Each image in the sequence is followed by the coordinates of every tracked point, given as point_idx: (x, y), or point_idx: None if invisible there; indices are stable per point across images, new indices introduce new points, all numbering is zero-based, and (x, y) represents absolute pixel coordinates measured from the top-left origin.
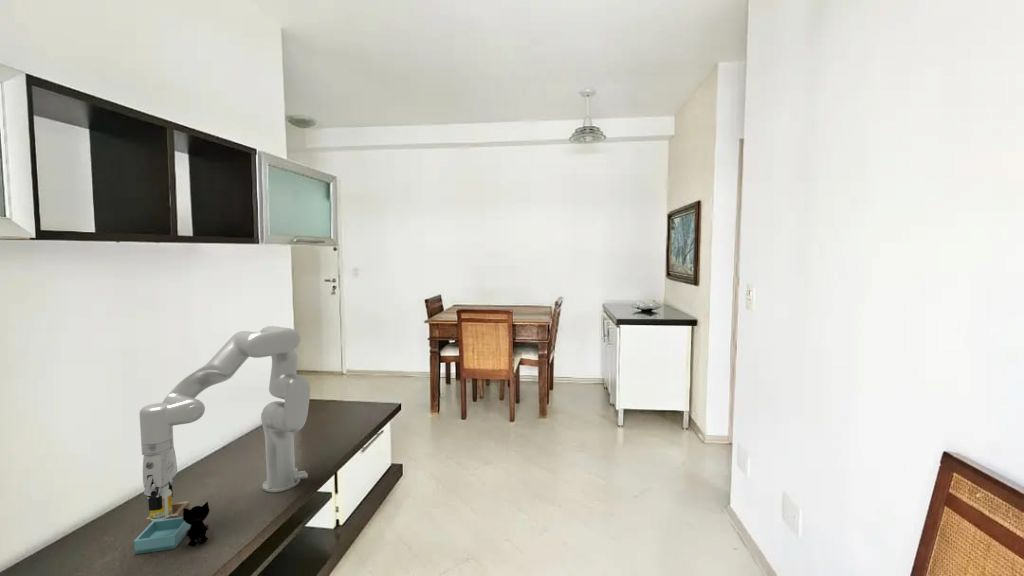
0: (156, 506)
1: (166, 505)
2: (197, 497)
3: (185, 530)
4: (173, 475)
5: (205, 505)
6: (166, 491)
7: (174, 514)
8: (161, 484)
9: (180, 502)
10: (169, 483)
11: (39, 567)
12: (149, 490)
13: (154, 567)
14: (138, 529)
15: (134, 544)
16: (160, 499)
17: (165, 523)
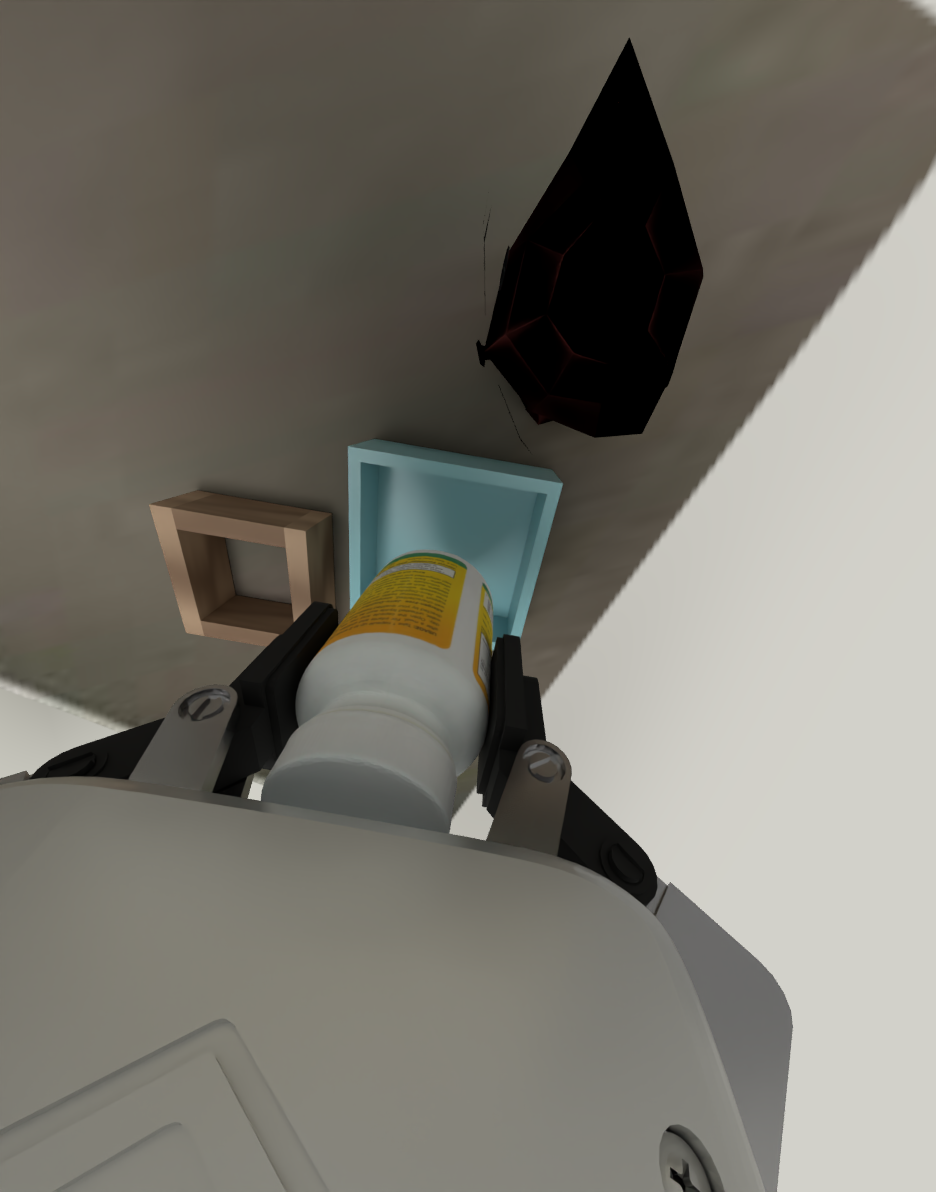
0: (537, 686)
1: (468, 613)
2: (61, 486)
3: (432, 452)
4: (154, 838)
5: (635, 124)
6: (398, 701)
7: (293, 545)
8: (686, 989)
9: (165, 547)
10: (232, 725)
11: (463, 803)
12: (760, 1020)
13: (672, 521)
14: None
15: None
16: (521, 704)
17: (366, 566)
